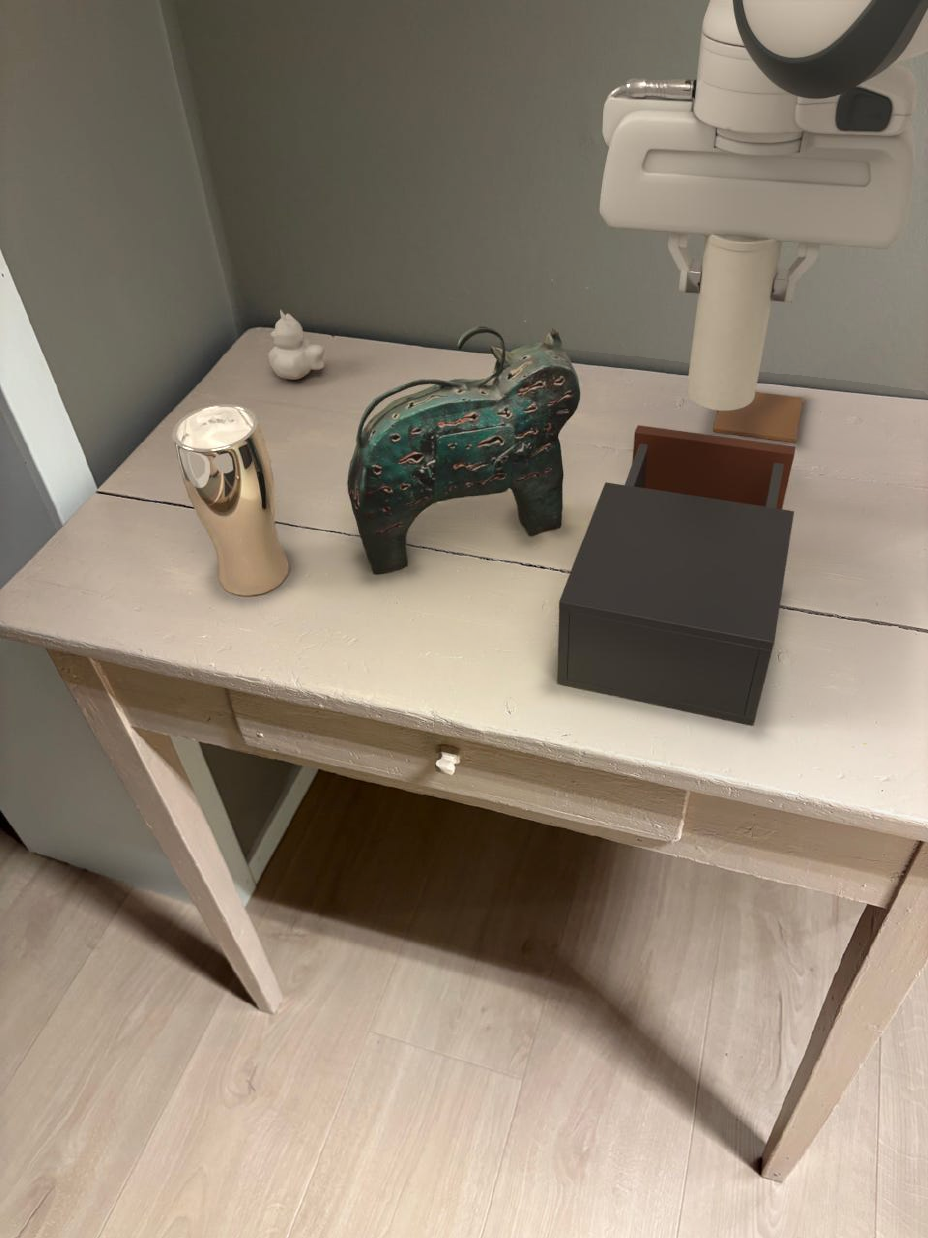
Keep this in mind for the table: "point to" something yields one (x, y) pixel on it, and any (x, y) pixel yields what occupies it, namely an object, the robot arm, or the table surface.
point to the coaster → (763, 418)
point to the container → (731, 320)
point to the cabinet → (675, 601)
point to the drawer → (711, 466)
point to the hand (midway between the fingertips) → (736, 294)
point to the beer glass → (233, 494)
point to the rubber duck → (293, 350)
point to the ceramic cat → (465, 446)
